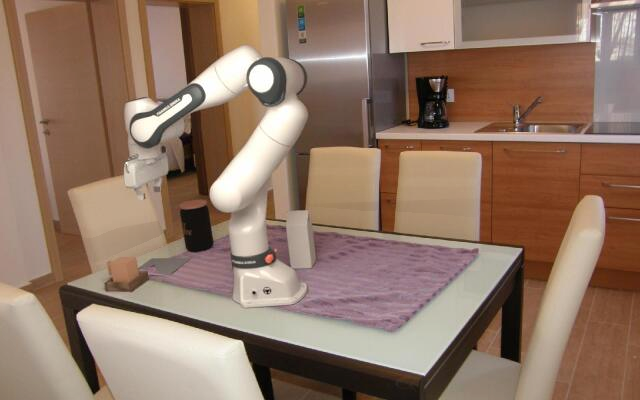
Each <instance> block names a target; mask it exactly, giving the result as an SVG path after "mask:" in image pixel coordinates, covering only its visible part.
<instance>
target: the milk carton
mask: <svg viewBox="0 0 640 400" xmlns="http://www.w3.org/2000/svg"><path fill="white" fill-rule="evenodd" d="M286 214H287V215H286V223H285V229H286V238H287V247H288V253H289V261H290V262H289V264H290V267H291V268H293V269H294V270H295V269H312V268H313V267H314V265H315V263H316V261H317V257H316V248H315V247H316V246H315V239H314V229H313V221H312V217H311V215H310V213H309V210H308V209H305V210H288V211H286Z"/></svg>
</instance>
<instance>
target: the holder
mask: <svg viewBox="0 0 640 400" xmlns="http://www.w3.org/2000/svg"><path fill="white" fill-rule="evenodd" d="M148 281H150V276H148V271H139V276H138V277H136V278H135V279H134V280H132V281H131V282H113V277H112V276H111V278H109V279H108V280H107V281H105V282H103V284H104V288H105V292H111V293H112V292H117V293H120V292H121V293H122V292H123V293H125V292H126V293H132V292H135V291H136V290H138V289H139V288H140V287H142V286H143V285H144V284H145V283H147V282H148Z"/></svg>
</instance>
